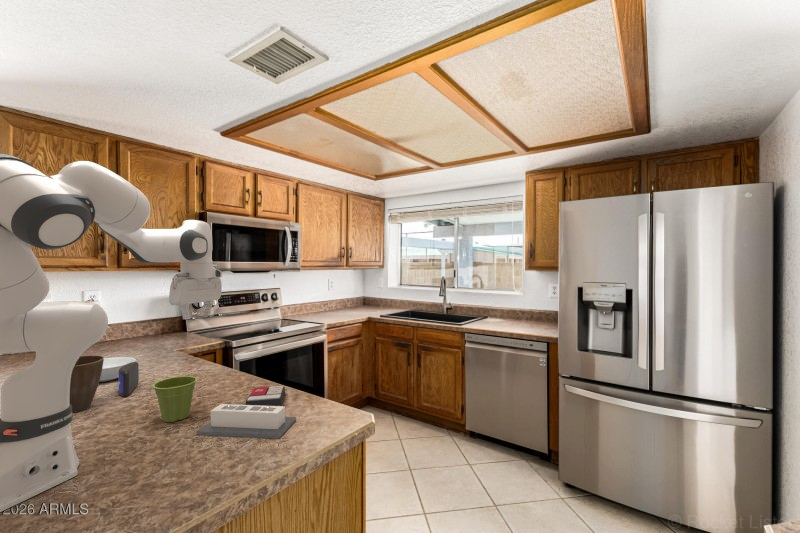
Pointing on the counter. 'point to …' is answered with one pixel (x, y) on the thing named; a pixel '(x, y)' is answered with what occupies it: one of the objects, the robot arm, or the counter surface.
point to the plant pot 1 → (85, 381)
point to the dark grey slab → (128, 378)
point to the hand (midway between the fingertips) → (197, 316)
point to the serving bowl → (113, 367)
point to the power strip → (248, 416)
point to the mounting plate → (247, 429)
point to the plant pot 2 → (175, 397)
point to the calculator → (266, 396)
